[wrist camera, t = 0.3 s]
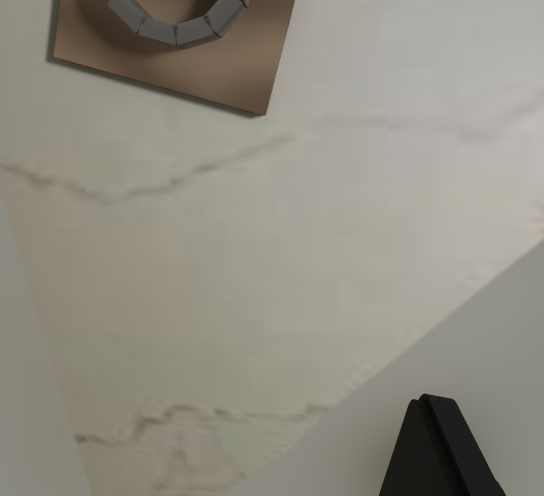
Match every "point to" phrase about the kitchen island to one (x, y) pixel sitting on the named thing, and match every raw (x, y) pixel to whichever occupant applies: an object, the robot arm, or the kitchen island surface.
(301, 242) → the kitchen island surface
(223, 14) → the can holder
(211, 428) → the kitchen island surface
